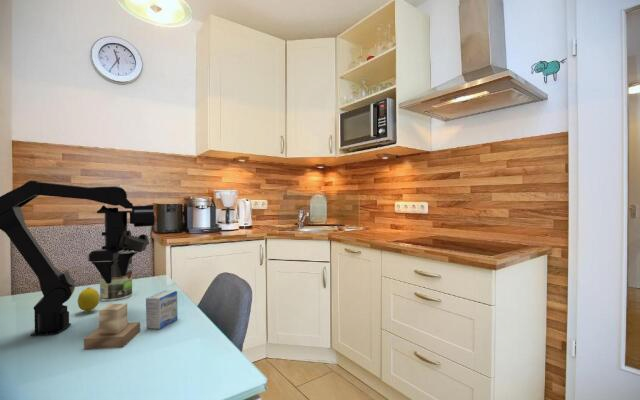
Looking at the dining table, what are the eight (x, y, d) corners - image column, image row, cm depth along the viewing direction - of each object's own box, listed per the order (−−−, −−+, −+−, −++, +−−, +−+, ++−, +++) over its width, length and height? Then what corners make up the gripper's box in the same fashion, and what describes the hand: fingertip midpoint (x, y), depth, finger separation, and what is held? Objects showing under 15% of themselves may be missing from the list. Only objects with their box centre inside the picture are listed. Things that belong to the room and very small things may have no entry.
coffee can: (138, 292, 121) (138, 256, 121) (121, 301, 111) (120, 261, 111) (112, 292, 122) (111, 256, 122) (92, 301, 111) (92, 261, 111)
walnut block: (83, 351, 75) (83, 338, 75) (104, 334, 84) (104, 323, 84) (123, 348, 77) (123, 336, 76) (140, 332, 85) (140, 321, 85)
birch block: (99, 333, 78) (98, 310, 78) (109, 326, 82) (109, 303, 82) (118, 333, 78) (117, 309, 78) (127, 325, 83) (127, 303, 83)
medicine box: (159, 329, 86) (159, 298, 86) (145, 328, 87) (145, 297, 87) (178, 319, 94) (177, 290, 94) (165, 318, 95) (164, 289, 95)
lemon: (78, 316, 96) (78, 291, 96) (77, 312, 101) (76, 287, 101) (100, 312, 100) (100, 287, 100) (98, 307, 104) (97, 284, 104)
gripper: (131, 230, 86) (131, 286, 86) (155, 224, 105) (156, 271, 105) (86, 231, 85) (87, 288, 85) (119, 225, 103) (120, 272, 103)
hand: (116, 279), depth 94 cm, fingers open, 9 cm apart
